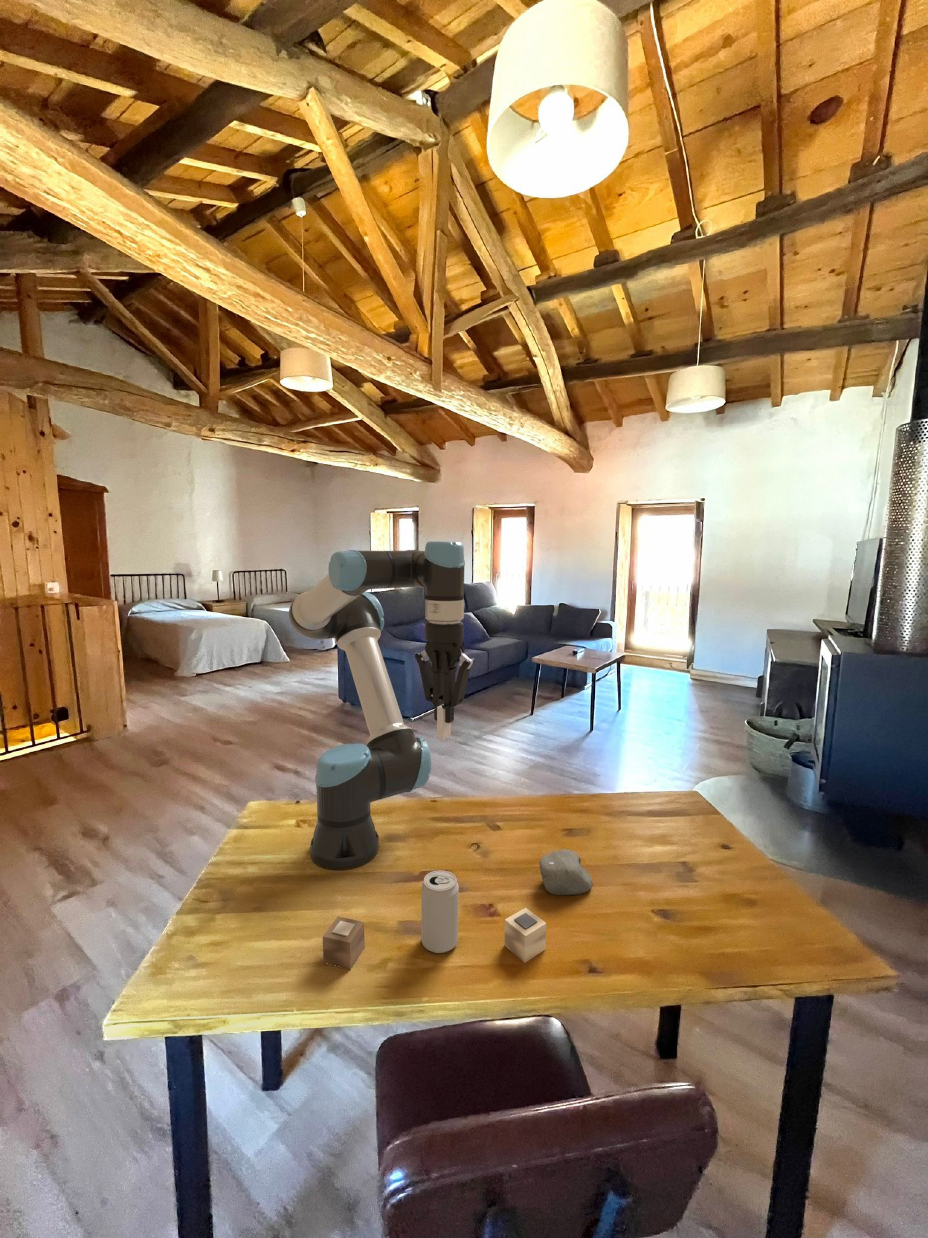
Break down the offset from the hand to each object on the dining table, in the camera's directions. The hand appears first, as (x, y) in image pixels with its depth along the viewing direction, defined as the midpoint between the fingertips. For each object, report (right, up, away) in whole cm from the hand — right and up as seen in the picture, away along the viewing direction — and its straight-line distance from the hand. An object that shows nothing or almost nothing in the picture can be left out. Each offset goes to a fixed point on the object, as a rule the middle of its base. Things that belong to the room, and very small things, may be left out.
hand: (443, 737), depth 109 cm
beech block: (+15, -33, -15) cm, 39 cm away
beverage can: (0, -33, -14) cm, 36 cm away
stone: (+25, -31, +2) cm, 40 cm away
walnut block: (-16, -33, -17) cm, 41 cm away
